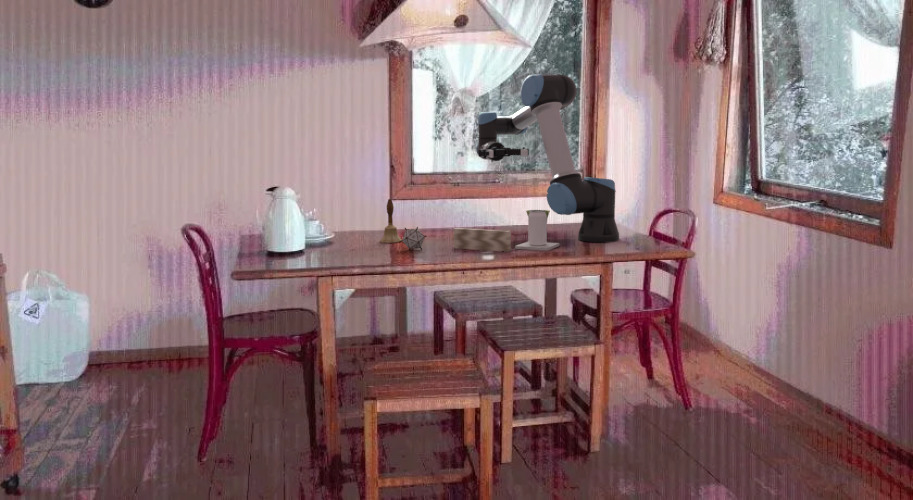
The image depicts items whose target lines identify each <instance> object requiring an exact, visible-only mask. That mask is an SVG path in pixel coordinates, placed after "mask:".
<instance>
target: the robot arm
mask: <svg viewBox="0 0 913 500" xmlns="http://www.w3.org/2000/svg"><path fill="white" fill-rule="evenodd" d="M576 85H577V84H576V82H575V81H574V80H573V79H572V78H571V77H569V76H568V75H566V74H549V73H548V74H545V73H543V74H542V73H538V74H529V75H527V76H526V78H525V79H524V80H523V82H522V85H521V87H520V100H521V103H522V104H523V105H524V107H522V108H520V110H518V111H516V112H515V113H513V114H511V115H509V116H507V115H506V116H502V115H501V116H499V115H497V114H498V113H497V112H496V111H481V112H480V113H479V114H478V120H477V121H478V122H477V124H478V143H477V145H476V148H475V149H476V150H475V151H476V155H477V156H478V157H479V158H481V159H483V160H487V161H488V160H489V161H491V163H494V162H500V161H501V160H504V158H505V157H511V156H520V157H524V158H527V157H529V156H530V152H529V151H530V149H529V148H526V147H524V146H523V147H522V148H514V147H512V148H511V147H505V145H504V144H503V143H501V142H499V141H497V139H498V136H499V135H503V136H504V135H508V136H509V135H511V136H512V135H524V134H525V133H526V132H527V130H528V128H529V127H530V126H531V125H533V124H535V123H536V122H537V123H538V127H539V131H540V134H541V138H542V142H543V147H544V150H545V154H546V157H547V162H548V165H549V169H550V173H551V177H552V178H551V179H550V180H549V186H548V187H547V190H546V192H547V193H546V202H547V205H548V206H549V208H550V210H552V211H553V212H554V213H555V214H557V215H561V216H562V215H564V216H572V215H576V214H582V220H581V224H580V228H579V230H578V234H577V239H578V240H579V241H582V242H589V243H590V242H591V243H612V242H616V241H619V240H620V232H619V229H618V226H617V223H616V218H615V213H616V193H617V191H616V183H615V181H614V179H611V178H610V179H609V178H600V177H591V176H584V177H583V178H582V174H581V173H580V172H578V171H577V170H576V168H575V165H574V161H573V157H572V152H571V149H570V146H569V142H568V138H567V133H566V132H565V127H564V123H563V120H562V116H561V112H560V110H563V109H565V108H566V107H568V106H570V105H572V103H573V102H574V100H575V99H576V97H577V93H578V92H577V91H578V89H577V86H576Z"/></svg>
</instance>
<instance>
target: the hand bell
mask: <svg viewBox="0 0 913 500" xmlns="http://www.w3.org/2000/svg"><path fill="white" fill-rule="evenodd" d="M394 208H395V207H394V203H393V200H392V198H388V199H387V203H386V213H387V216H388V221H387V225H386V226H385V227H384V231H383V236H382V238H381V239H380V241H379V242H380V243H382V244H393V243H396V244H397V243H400V242H399V241H402V239H403V238H400V236H399V234H398V229H397V227H396V226H395V225H394V223H393V215H394Z"/></svg>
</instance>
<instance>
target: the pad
mask: <svg viewBox="0 0 913 500" xmlns="http://www.w3.org/2000/svg"><path fill="white" fill-rule="evenodd" d="M558 247H560V242H548V241H547V243H546V245H543V246H532V245H529V244H528V241H525V242H522V243H520V244H517V245H514V249H515V250H528V251H540V252H547V251H551V250H553V249H555V248H558Z"/></svg>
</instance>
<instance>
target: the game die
mask: <svg viewBox="0 0 913 500" xmlns="http://www.w3.org/2000/svg"><path fill="white" fill-rule="evenodd" d="M404 230H405V231H404V234H403V237H402V238H401V239H402V241H399V242H398V243H401V242H402V243H403V244H404V245H405V246H406V248H408V252H409V251H411V250H414V249H415V250H416V249H420V250H421V251H422V250H423V248H422V245H423V243H424V240H425V238H426V237H428V235H424V234H423V232H421V231H420V229H419V226H417V227H416V228H406V227H404Z"/></svg>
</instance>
